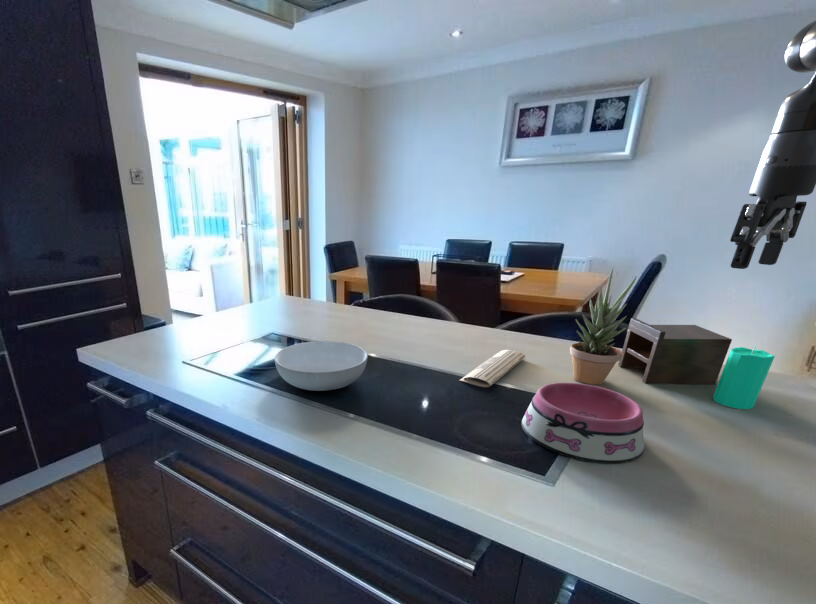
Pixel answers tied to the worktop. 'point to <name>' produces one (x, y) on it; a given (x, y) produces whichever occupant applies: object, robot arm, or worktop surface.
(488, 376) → the newspaper
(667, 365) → the shelf
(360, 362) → the serving bowl
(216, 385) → the worktop surface
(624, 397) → the dog bowl
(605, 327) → the potted plant
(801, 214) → the robot arm
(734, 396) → the candle
